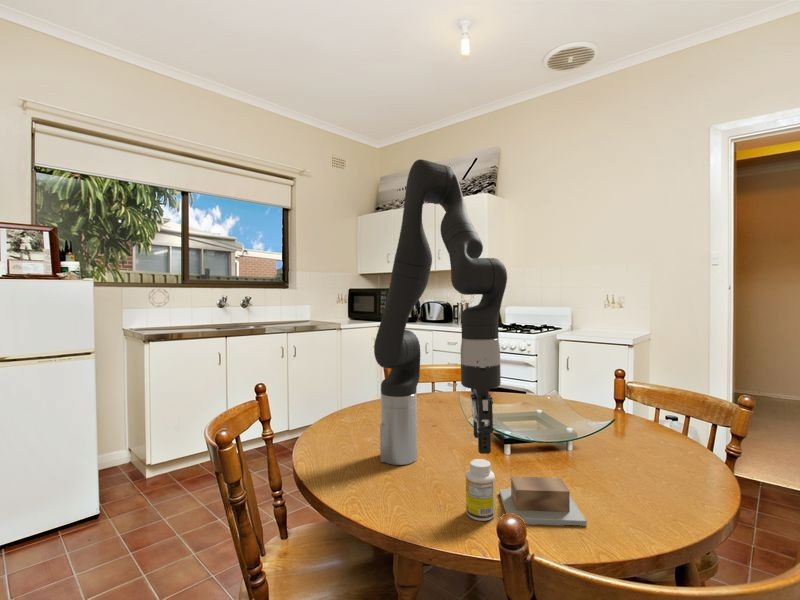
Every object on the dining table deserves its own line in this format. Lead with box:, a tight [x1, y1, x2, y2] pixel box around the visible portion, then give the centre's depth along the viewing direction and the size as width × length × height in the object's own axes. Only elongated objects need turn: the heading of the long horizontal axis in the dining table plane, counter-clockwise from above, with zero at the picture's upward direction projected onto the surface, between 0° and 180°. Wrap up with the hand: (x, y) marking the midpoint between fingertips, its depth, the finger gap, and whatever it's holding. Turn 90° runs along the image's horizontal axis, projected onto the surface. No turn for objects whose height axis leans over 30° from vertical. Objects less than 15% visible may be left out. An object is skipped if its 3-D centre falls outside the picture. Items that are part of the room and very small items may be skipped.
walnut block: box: [510, 476, 571, 512], centre depth 86 cm, size 10×6×4 cm, turn 85°
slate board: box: [499, 488, 588, 527], centre depth 86 cm, size 14×12×1 cm
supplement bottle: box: [465, 458, 496, 522], centre depth 84 cm, size 6×6×10 cm
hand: (481, 444), depth 84 cm, fingers open, 8 cm apart
